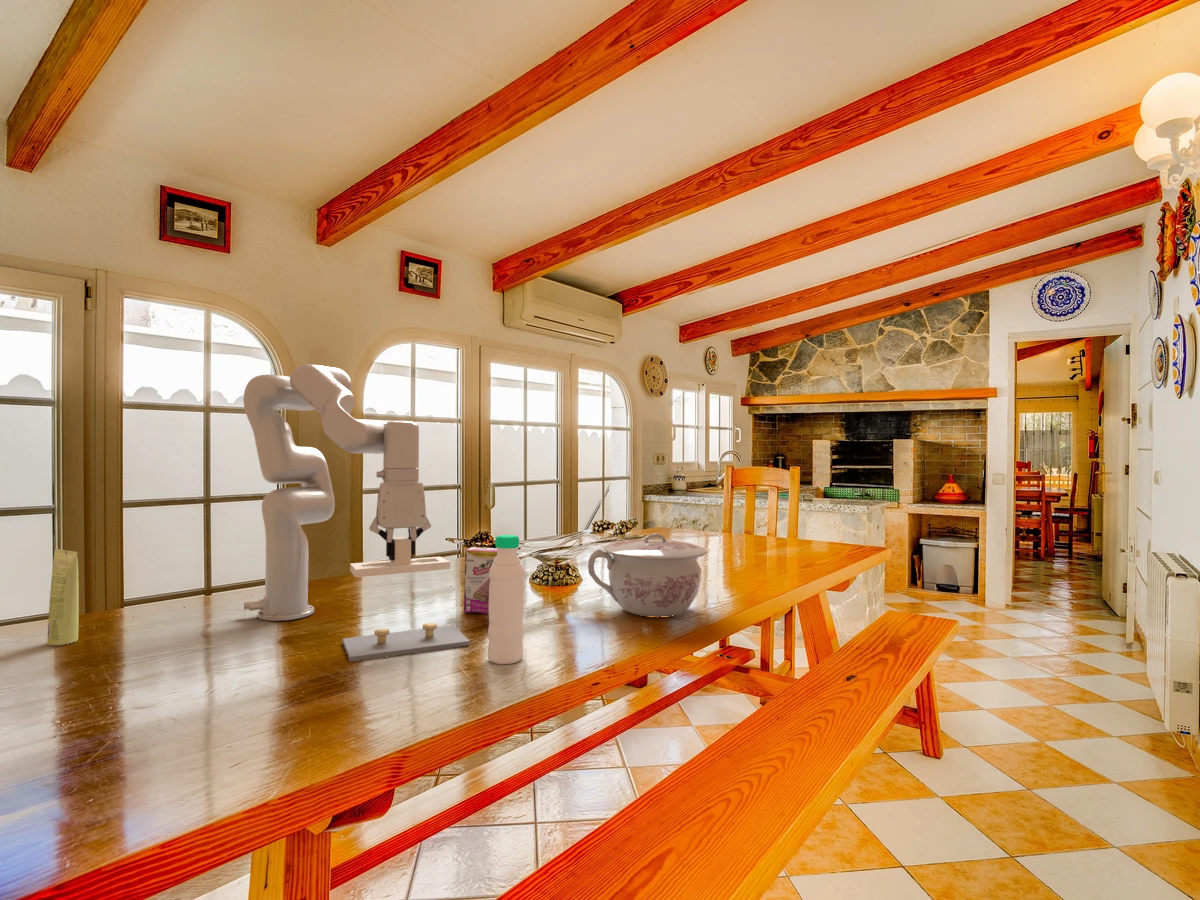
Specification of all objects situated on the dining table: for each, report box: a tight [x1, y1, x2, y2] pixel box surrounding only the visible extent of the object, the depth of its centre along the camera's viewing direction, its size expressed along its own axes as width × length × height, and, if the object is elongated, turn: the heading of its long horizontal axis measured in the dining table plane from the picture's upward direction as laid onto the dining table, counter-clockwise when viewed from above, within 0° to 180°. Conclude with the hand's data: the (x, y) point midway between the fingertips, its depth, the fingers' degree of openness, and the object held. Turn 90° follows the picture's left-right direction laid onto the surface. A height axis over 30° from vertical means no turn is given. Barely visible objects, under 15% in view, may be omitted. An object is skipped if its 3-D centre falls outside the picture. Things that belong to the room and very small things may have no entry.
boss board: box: [342, 622, 470, 663], centre depth 134 cm, size 24×13×4 cm, turn 118°
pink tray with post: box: [349, 536, 451, 578], centre depth 139 cm, size 20×8×7 cm, turn 120°
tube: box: [47, 548, 80, 646], centre depth 131 cm, size 6×5×20 cm
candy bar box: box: [463, 546, 498, 615], centre depth 161 cm, size 11×5×16 cm, turn 84°
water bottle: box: [487, 534, 525, 665], centre depth 126 cm, size 7×7×25 cm
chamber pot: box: [587, 533, 708, 617], centre depth 165 cm, size 28×28×21 cm
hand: (400, 558), depth 139 cm, fingers closed on pink tray with post, 3 cm apart
